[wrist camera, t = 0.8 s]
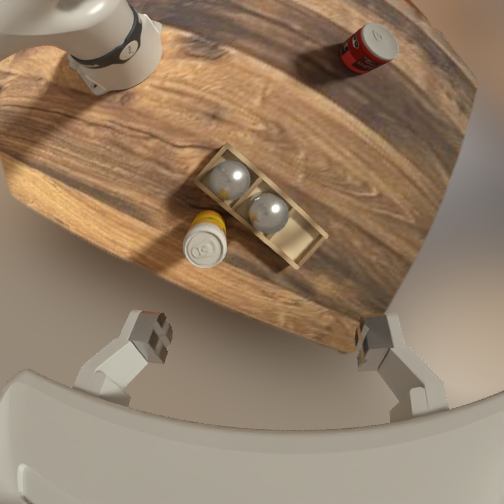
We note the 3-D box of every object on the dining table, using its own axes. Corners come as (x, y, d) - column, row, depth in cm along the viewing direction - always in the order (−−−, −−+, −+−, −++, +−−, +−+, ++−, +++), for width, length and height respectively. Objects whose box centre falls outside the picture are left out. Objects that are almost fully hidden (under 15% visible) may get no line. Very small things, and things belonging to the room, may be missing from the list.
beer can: (230, 234, 51) (233, 262, 37) (199, 245, 51) (191, 277, 37) (218, 204, 49) (217, 220, 35) (188, 216, 49) (174, 237, 35)
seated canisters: (204, 180, 46) (201, 182, 39) (227, 154, 45) (228, 152, 38) (264, 231, 50) (270, 241, 43) (286, 206, 49) (296, 213, 42)
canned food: (353, 37, 41) (378, 17, 30) (377, 65, 43) (406, 51, 33) (330, 50, 42) (353, 30, 31) (356, 80, 44) (384, 66, 34)
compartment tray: (194, 180, 48) (192, 181, 44) (226, 143, 46) (226, 142, 43) (292, 263, 55) (297, 270, 51) (322, 231, 53) (328, 235, 50)
